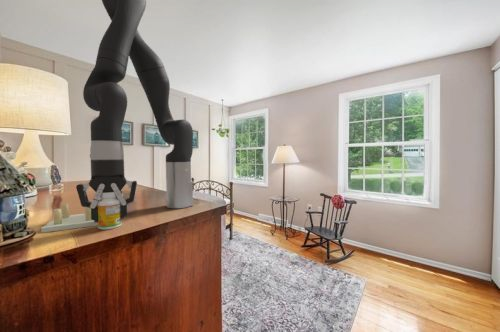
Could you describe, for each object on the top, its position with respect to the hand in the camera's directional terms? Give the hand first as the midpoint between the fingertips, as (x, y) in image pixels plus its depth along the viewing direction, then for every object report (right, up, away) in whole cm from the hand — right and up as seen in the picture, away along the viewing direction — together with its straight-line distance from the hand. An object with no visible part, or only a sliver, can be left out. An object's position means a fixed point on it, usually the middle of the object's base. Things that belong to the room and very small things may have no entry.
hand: (109, 219), depth 58 cm
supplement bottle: (0, -2, 0) cm, 2 cm away
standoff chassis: (-12, -2, +4) cm, 13 cm away
